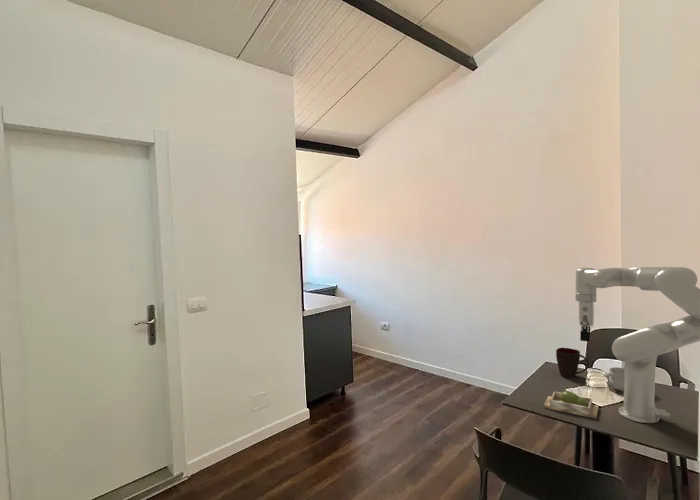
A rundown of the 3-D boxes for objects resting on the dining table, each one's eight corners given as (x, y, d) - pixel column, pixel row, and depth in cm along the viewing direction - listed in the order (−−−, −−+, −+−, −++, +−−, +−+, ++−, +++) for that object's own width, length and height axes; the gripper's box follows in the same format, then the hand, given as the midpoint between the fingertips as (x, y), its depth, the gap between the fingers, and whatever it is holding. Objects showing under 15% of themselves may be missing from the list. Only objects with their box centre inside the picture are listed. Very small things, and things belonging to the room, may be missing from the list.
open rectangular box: (598, 408, 163) (598, 399, 163) (596, 418, 155) (596, 409, 155) (548, 398, 174) (548, 390, 174) (543, 407, 165) (543, 398, 165)
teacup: (629, 384, 186) (629, 367, 186) (643, 394, 175) (644, 376, 175) (596, 384, 188) (596, 366, 187) (609, 394, 177) (609, 375, 176)
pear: (565, 387, 168) (592, 398, 161) (563, 399, 169) (589, 411, 162) (559, 390, 165) (586, 402, 157) (557, 402, 166) (583, 415, 158)
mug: (559, 370, 206) (559, 346, 205) (591, 376, 197) (591, 352, 196) (553, 376, 199) (553, 351, 198) (586, 383, 189) (586, 357, 189)
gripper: (595, 301, 163) (595, 344, 164) (596, 294, 178) (596, 334, 179) (574, 300, 167) (573, 342, 168) (576, 293, 182) (576, 332, 183)
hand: (585, 338), depth 173 cm, fingers open, 9 cm apart
